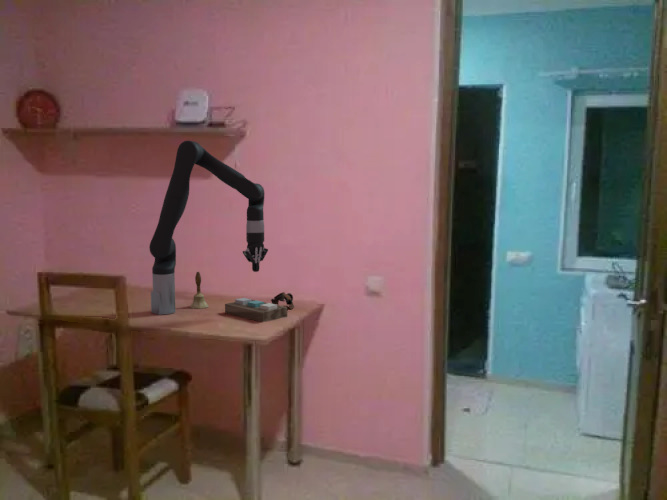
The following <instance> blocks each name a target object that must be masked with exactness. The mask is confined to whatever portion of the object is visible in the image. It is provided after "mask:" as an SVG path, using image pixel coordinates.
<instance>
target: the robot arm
mask: <svg viewBox="0 0 667 500" xmlns="http://www.w3.org/2000/svg"><path fill="white" fill-rule="evenodd" d="M195 165H197V166H199V167H201V168H203V169H205V170H206V171H208V172H210V173H211V174H212V175H213V176H215V177H216V178H218V180H220V182H222V183H224V184H225V185H227V186H229V187H231V188H232V189H234V190H235V191H237V192H238V193H239V194H240V195H242V196H243V197H245V198H246V199H248V206H247V208H246V226H245V227H246V228H245V229H246V230H245V231H246V232H245V233H246V238H245V239H246V243H247V244H246V245H247V246H246V249H245V250H243V251H242V254H243V255H244V257H245V258H246V260H247V262H249V263H251V270H252V272H253V273H257V272H258V273H259V271H260V263H261V262H263V261H264V260H265V257H266V255H267V253H268V251H269V249H268V248H266V247H265V245H264V242H265V221H264V204H265V188H264V186H263V185H262V184H261V183H255V182H253V181H252V180H250V179H248V178H246V176H245V175H244V174H242V173H241V172H240V171H238V170H236V169H235V168H233V167H231V166H229V165H228V164H226V163H225V162H222V161H221V160H220V159H218V158H217V157H215V156H213V155H212V154H211V153H210V152H208V151H207V150H206V149H205V148H204V147H203V146H202V145H201V144H200V143H199V142H198V141H197V142H196V141H192V140H184V141H182V142H181V143H180V144H179V146H178V147H177V151H176V156H175V162H174V167H173V171H172V174H171V177H170V180H169V183H168V186H167V189H166V193H165V195H164V199H163V203H162V207H161V211H160V214H159V218H158V223H157V225H156V227H155V231H154V233H153V236H152V237H151V241H150V243H149V246H148V247H149V252H150V254H151V256H152V257H153V258H154V263H153V266H152V268H151V270H152V290H151V291H150V305H151V306H150V308H151V309H150V311H151V313H152V314H155V315H159V316H160V315H172V314H174V313H176V283H175V282H176V278H175V277H176V275H175V274H176V272H175V270H176V269H175V268H176V265H177V264H176V263H177V247H176V241H175V240H174V239H173V236H174V233H175V229H176V227H177V225H178V223H179V222H180V220H181V218H182V217H183V214H184V212H185V210H186V208H187V207H186V206H187V203H188V200H189V196H190V181H191V174H192V173H193V172H192V171H193V169H194V166H195Z"/></svg>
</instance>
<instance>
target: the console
mask: <svg viewBox="0 0 667 500" xmlns="http://www.w3.org/2000/svg"><path fill="white" fill-rule="evenodd" d="M255 300H256V299H252V301H255ZM263 302H264V304H267V303H268V302H265V301H263ZM276 305H277V304H276ZM224 314H228V315H232V316H235V317H240V318H243V319H248V320H252V321H256V322H260V323H267V322H270V321H274V320H277V319H281V318H286V317H288V307H287V306H285V305H284V306H283V305H279V304H278V305H277V309H274V310H269V311H268V310H263V309H260V307H256V308H254V307H250V306H248V304H245V305H241V304H237V303H235V301H233V302H228V303H225V304H224Z"/></svg>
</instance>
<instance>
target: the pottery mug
mask: <svg viewBox="0 0 667 500" xmlns="http://www.w3.org/2000/svg"><path fill="white" fill-rule="evenodd" d="M293 300H294V295H293V294H292V293H290V292H287V293H285V291H282V292H280V293H278V294H276V295H275V296H273V298H271V299H270V302H271V304H276V305H279V302H285V303H286V305H287V306H288V307H289V310H294V308H295V305H294V303H293Z"/></svg>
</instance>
